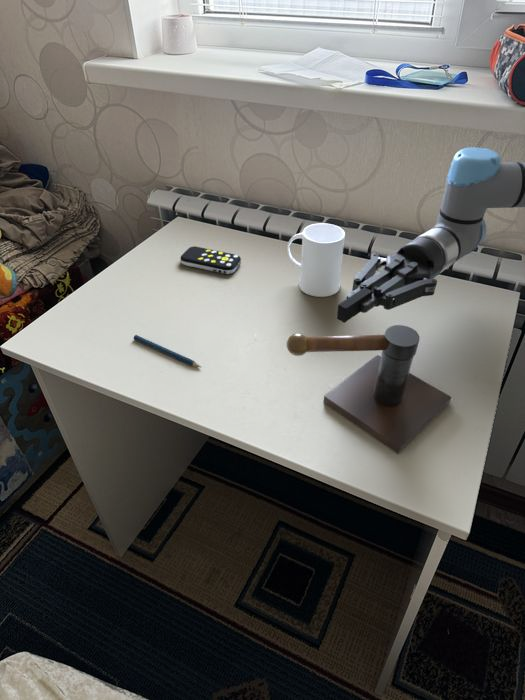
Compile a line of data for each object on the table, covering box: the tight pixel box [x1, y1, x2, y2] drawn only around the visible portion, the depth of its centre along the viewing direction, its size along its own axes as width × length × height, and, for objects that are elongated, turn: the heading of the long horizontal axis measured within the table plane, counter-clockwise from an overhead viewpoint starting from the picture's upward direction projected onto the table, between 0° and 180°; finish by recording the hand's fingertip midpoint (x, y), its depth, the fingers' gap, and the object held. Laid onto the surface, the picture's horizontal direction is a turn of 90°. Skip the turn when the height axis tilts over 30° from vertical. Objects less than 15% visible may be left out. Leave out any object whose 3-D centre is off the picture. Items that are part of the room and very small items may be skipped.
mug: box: [286, 222, 346, 298], centre depth 101 cm, size 12×8×12 cm
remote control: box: [179, 245, 242, 275], centre depth 111 cm, size 6×13×2 cm, turn 69°
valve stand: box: [323, 350, 452, 455], centre depth 76 cm, size 14×14×11 cm
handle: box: [286, 324, 421, 360], centre depth 71 cm, size 18×5×3 cm, turn 92°
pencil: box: [133, 334, 202, 369], centre depth 88 cm, size 1×1×15 cm
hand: (341, 313), depth 76 cm, fingers closed
